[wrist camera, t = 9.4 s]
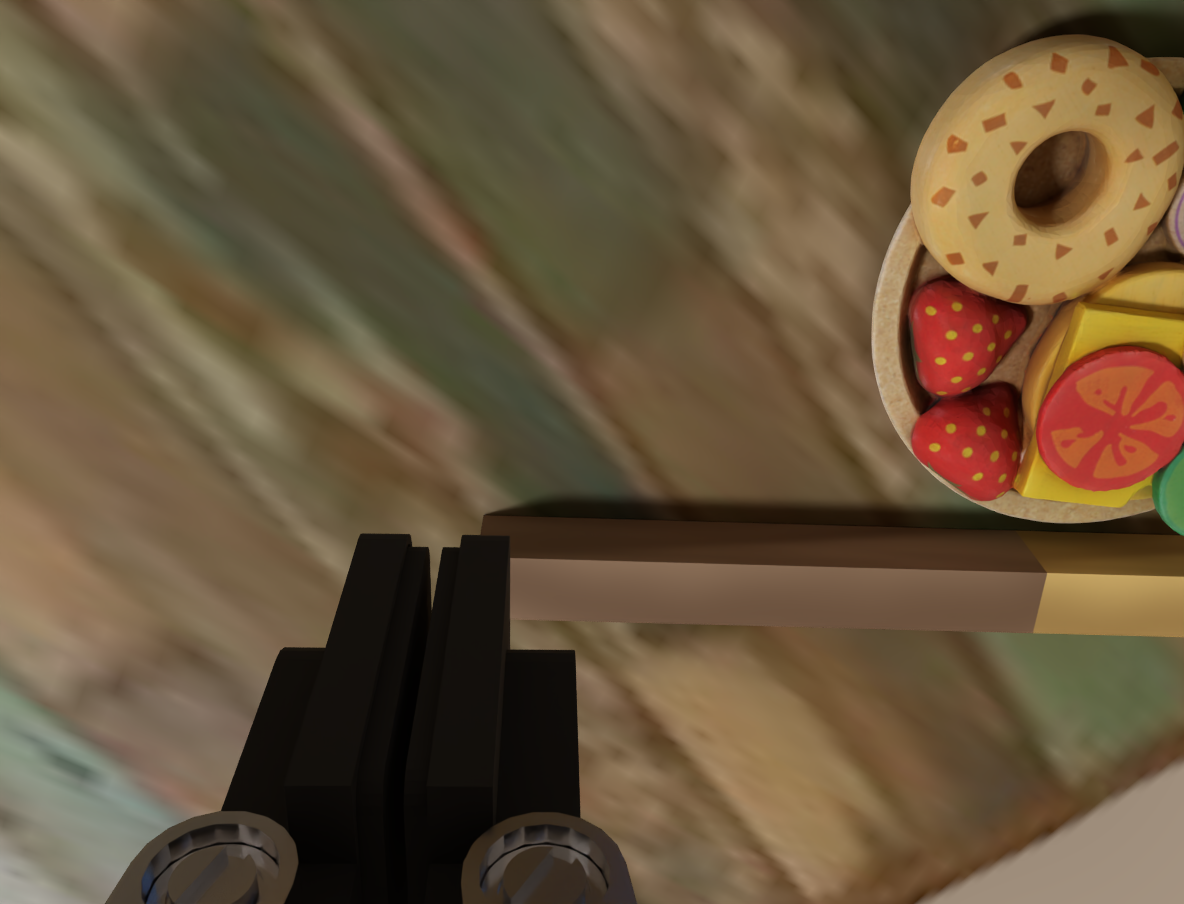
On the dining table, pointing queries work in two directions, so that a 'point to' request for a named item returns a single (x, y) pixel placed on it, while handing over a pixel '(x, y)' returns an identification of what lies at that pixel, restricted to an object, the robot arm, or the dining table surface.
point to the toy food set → (1045, 287)
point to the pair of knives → (843, 576)
